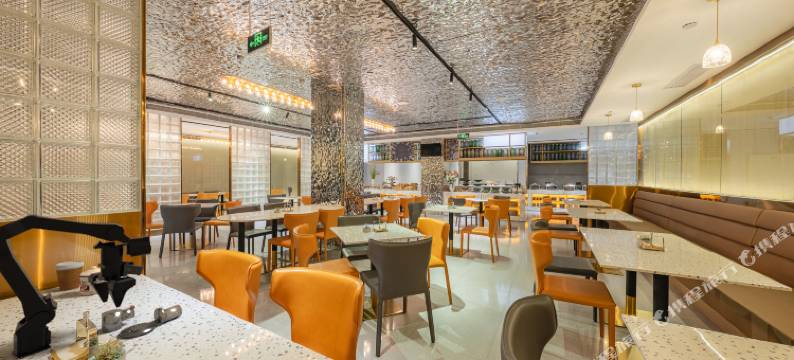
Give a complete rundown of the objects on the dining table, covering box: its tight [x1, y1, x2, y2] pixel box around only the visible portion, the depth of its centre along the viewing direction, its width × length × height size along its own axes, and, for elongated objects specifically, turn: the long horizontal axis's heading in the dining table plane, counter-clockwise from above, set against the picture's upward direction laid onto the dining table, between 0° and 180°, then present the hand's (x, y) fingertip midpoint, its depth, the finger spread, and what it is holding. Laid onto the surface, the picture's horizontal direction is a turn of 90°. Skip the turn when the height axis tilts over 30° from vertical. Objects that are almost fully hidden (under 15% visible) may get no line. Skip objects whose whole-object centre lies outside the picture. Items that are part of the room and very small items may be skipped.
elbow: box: [101, 304, 136, 334], centre depth 105 cm, size 9×5×6 cm, turn 155°
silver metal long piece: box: [119, 304, 183, 340], centre depth 106 cm, size 17×9×6 cm, turn 155°
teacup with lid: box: [79, 265, 100, 296], centre depth 136 cm, size 12×9×12 cm
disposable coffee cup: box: [54, 260, 85, 292], centre depth 141 cm, size 10×10×12 cm
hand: (111, 304), depth 104 cm, fingers open, 9 cm apart
